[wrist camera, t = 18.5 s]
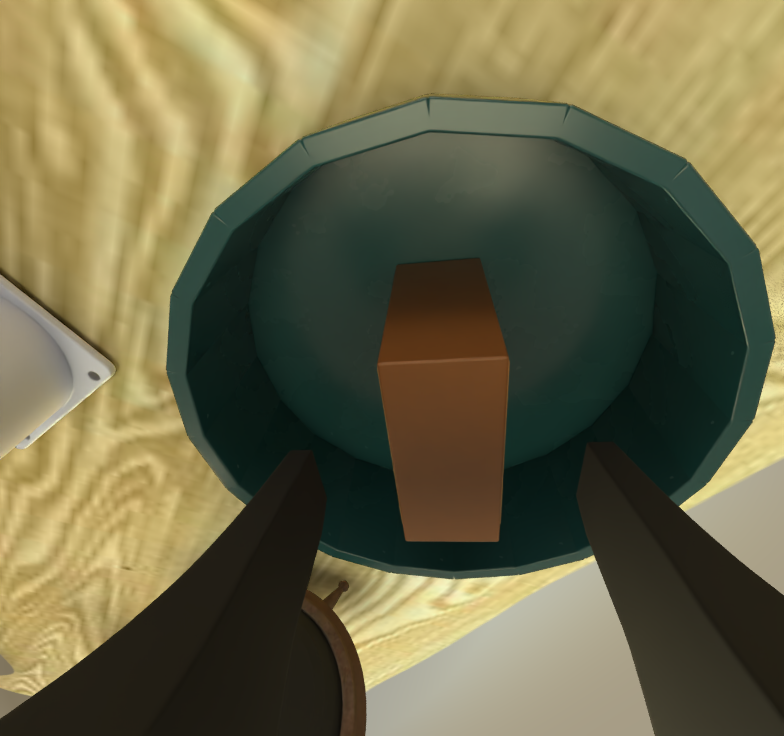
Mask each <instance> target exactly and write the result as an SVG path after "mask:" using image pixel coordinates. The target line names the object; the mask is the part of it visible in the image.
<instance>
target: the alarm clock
mask: <svg viewBox="0 0 784 736" xmlns="http://www.w3.org/2000/svg"><path fill="white" fill-rule="evenodd" d="M348 588H349V585H348V583H347V582H346V581H341V582H340V583H339V587H338V588H337V589H336V590H335V591H334V592H332V593H331V594H330V595H329V596H328V597H326V598H325V599H324V600H322V599H320V598H319V597H318V596H316V595H315V594H314V593H312V592H310V591H309V590H306V594H305V597H304V601H303V604H302V608H301V612H300V615H299V619H298V623H297V628H296V632H295V636H294V641H293V647H292V652H291V658H290V663H289V668H288V674H287V679H286V686H285V692H284V698H283V704H282V710H281V716H280V722H279V729H278V735H277V736H365V731H366V693H365V684H364V678H363V672H362V668H361V664H360V660H359V657H358V654H357V651H356V648H355V646H354V643H353V641H352V639H351V637H350V635H349V633H348V631H347V630H346V628H345V626H344V624H343V623H342V622H341V620H340V619H339V617H338V616H337V615H336V614H335V612H334V611H333V610H332V609H333V607H334V606H335V604H336V602H337V601H338V599H339V597H340V596H341V594H342V592H344V591H347V590H348Z"/></svg>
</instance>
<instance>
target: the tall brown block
mask: <svg viewBox="0 0 784 736" xmlns="http://www.w3.org/2000/svg"><path fill="white" fill-rule="evenodd" d="M509 364H510V362H509V356H508V353H507V349H506V346H505V342H504V339H503V335H502V332H501V328H500V325H499V322H498V318H497V315H496V311H495V308H494V304H493V301H492V297H491V294H490V290H489V287H488V284H487V280H486V277H485V273H484V270H483V266H482V263H481V260H480V258H473V259H461V260H449V261H437V262H425V263H413V264H401V265H397V266H396V270H395V275H394V280H393V285H392V290H391V296H390V301H389V306H388V311H387V316H386V321H385V326H384V331H383V337H382V342H381V347H380V352H379V357H378V362H377V371H378V377H379V383H380V390H381V396H382V402H383V408H384V414H385V420H386V427H387V433H388V439H389V445H390V451H391V458H392V464H393V470H394V476H395V482H396V489H397V495H398V501H399V507H400V513H401V519H402V524H403V530H404V536H405V540H406V541H449V542H498V541H499V533H500V524H501V508H502V490H503V472H504V454H505V436H506V418H507V400H508V382H509Z"/></svg>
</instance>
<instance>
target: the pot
mask: <svg viewBox="0 0 784 736" xmlns="http://www.w3.org/2000/svg"><path fill="white" fill-rule="evenodd" d="M473 258H480V260H481V263H482V266H483V270H484V273H485V277H486V280H487V284H488V287H489V290H490V294H491V297H492V301H493V304H494V308H495V311H496V315H497V318H498V322H499V325H500V328H501V332H502V335H503V339H504V342H505V346H506V349H507V353H508V356H509V362H510V364H509V382H508V400H507V418H506V436H505V454H504V472H503V490H502V508H501V524H500V533H499V541H498V542H449V541H406V540H405V536H404V530H403V524H402V519H401V513H400V507H399V501H398V495H397V489H396V482H395V476H394V470H393V464H392V458H391V451H390V445H389V439H388V433H387V427H386V420H385V414H384V408H383V402H382V396H381V390H380V383H379V377H378V371H377V362H378V357H379V352H380V347H381V342H382V337H383V331H384V326H385V321H386V316H387V311H388V306H389V301H390V296H391V290H392V285H393V280H394V275H395V270H396V266H397V265H401V264H413V263H425V262H437V261H449V260H461V259H473ZM775 338H776V337H775V332H774V327H773V321H772V316H771V311H770V306H769V301H768V295H767V290H766V285H765V280H764V274H763V269H762V264H761V259H760V253H759V249H758V248H757V247H756V244H755V243H754V242H753V240H752V239H751V238H750V237H749V235H748V234H747V233H746V232H745V230H744V229H743V228H742V227H741V225H740V224H739V223H738V222H737V220H736V219H735V218H734V217H733V215H732V214H731V213H730V212H729V210H728V209H727V208H726V207H725V205H724V204H723V203H722V202H721V200H720V199H719V198H718V197H717V195H716V194H715V193H714V192H713V190H712V189H711V188H710V187H709V185H708V184H707V183H706V182H705V180H704V179H703V178H702V177H701V175H700V174H699V173H698V172H697V170H696V169H695V168H694V167H693V165H692V164H691V163H690V162H687V160H686V159H685V158H683V157H681V156H679V155H677V154H675V153H673V152H670V151H668V150H666V149H664V148H662V147H660V146H658V145H656V144H654V143H652V142H650V141H647V140H645V139H643V138H641V137H639V136H637V135H635V134H633V133H631V132H629V131H627V130H625V129H622V128H620V127H618V126H616V125H614V124H612V123H610V122H608V121H606V120H604V119H602V118H600V117H597V116H595V115H593V114H591V113H589V112H587V111H585V110H583V109H581V108H579V107H577V106H574V105H570V104H567V103H561V102H551V101H542V100H533V99H524V98H509V97H490V96H471V95H452V94H434V93H431V94H430V95H429V94H425V95H422V96H419V97H416V98H413V99H410V100H407V101H404V102H401V103H398V104H395V105H392V106H389V107H386V108H383V109H380V110H377V111H374V112H371V113H367V114H364V115H361V116H358V117H355V118H352V119H349V120H346V121H343V122H341V123H338V124H335V125H333V126H330V127H327V128H325V129H322V130H319V131H317V132H314V133H311V134H309V135H306V136H303V137H302V138H301V139H298V140H297V141H295V142H294V143H293V144H292V145H291V146H290V147H288V148H287V149H286V150H285V151H284V152H282V153H281V154H280V155H279V156H278V157H276V158H275V159H274V160H273V161H272V162H270V163H269V164H268V165H267V166H266V167H264V168H263V169H262V170H261V171H260V172H258V173H257V174H256V175H255V176H254V177H252V178H251V179H250V180H249V181H248V182H246V183H245V184H244V185H243V186H242V187H240V188H239V189H238V190H237V191H236V192H234V193H233V194H232V195H231V196H230V197H228V198H227V199H226V200H225V201H224V202H222V203H221V204H220V205H219V206H218V207H216V208H215V210H214V212H212V213H211V215H210V217H209V219H208V221H207V223H206V225H205V227H204V229H203V231H202V233H201V235H200V237H199V239H198V241H197V243H196V245H195V247H194V249H193V251H192V253H191V255H190V257H189V259H188V261H187V263H186V264H185V266H184V268H183V270H182V272H181V274H180V276H179V278H178V280H177V282H176V284H175V286H174V288H173V290H172V294H171V296H170V314H169V331H168V348H167V365H166V370H167V375H168V378H169V381H170V384H171V387H172V390H173V393H174V396H175V399H176V403H177V406H178V409H179V412H180V415H181V418H182V421H183V424H184V427H185V430H186V433H187V436H189V439H190V440H191V442H192V443H193V444H194V446H195V447H196V448H197V450H198V451H199V453H200V454H201V455H202V457H203V458H204V459H205V461H206V462H207V463H208V465H209V466H210V467H211V469H212V470H213V472H214V473H215V474H216V476H217V477H218V478H219V480H220V481H221V482H222V484H223V485H224V486H225V488H227V490H228V491H229V492H231V493H232V494H233V495H234V496H236V497H237V498H238V499H239V500H241V501H242V502H243V503H244V504H246V505H247V504H248V503H249V502H250V500H251V499H252V498H253V497H254V496H255V494H256V493H257V492H258V491H259V489H260V488H261V487H262V486H263V484H264V483H265V482H266V481H267V479H268V478H269V477H270V476H271V474H272V473H273V472H274V471H275V469H276V468H277V467H278V465H279V464H280V463H281V462H282V460H283V459H284V458H285V457H286V455H287V454H288V453H289V452H290V451H291V450H312V451H313V455H314V458H315V461H316V464H317V467H318V471H319V474H320V477H321V480H322V484H323V487H324V490H325V493H326V497H327V502H326V509H325V517H324V523H323V529H322V535H321V539H320V543H319V546H318V550H320V551H322V552H324V553H326V554H328V555H330V556H332V557H335V558H339V559H342V560H346V561H350V562H353V563H357V564H360V565H364V566H367V567H371V568H374V569H378V570H382V571H385V572H389V573H391V572H392V573H396V574H406V575H416V576H425V577H435V578H445V579H468V578H483V577H497V576H512V575H518V574H519V575H522V574H526V573H531V572H535V571H539V570H543V569H547V568H551V567H555V566H559V565H563V564H567V563H571V562H575V561H579V560H583V559H584V558H588V557H590V556H592V555H594V553H593V551H592V548H591V546H590V543H589V540H588V538H587V535H586V532H585V528H584V524H583V521H582V517H581V513H580V509H579V505H578V501H577V497H576V493H577V489H578V484H579V479H580V474H581V470H582V465H583V460H584V455H585V450H586V446H587V442H614V443H615V444H616V445H617V446H618V447H619V448H620V449H621V450H622V451H623V452H624V453H625V454H626V455H627V456H628V457H629V458H630V459H631V460H632V461H633V462H634V463H635V464H636V465H637V466H638V467H639V468H640V469H641V470H642V471H643V472H644V473H645V474H646V475H647V476H648V477H649V478H650V479H651V480H652V481H653V482H654V483H655V484H656V485H657V486H658V487H659V488H660V489H661V490H662V491H663V492H664V493H665V494H666V495H667V496H668V497H669V498H670V499H671V500H672V501H673V502H674V503H675V504H676V505H678V506H680V505H681V504H682V503H683V502H685V501H686V500H687V499H689V498H690V497H691V496H692V495H694V494H695V493H696V492H698V491H699V490H700V489H701V488H703V487H704V486H705V485H706V484H707V483H708V482H709V481H710V480H711V478H712V477H713V476H714V474H715V473H716V472H717V470H718V469H719V467H720V466H721V465H722V463H723V462H724V461H725V459H726V458H727V456H728V455H729V454H730V452H731V451H732V450H733V448H734V447H735V445H736V444H737V443H738V441H739V440H740V439H741V437H742V436H743V434H744V433H745V432H746V430H747V429H748V428H749V426H750V425H751V423H752V421H753V419H754V418H755V414H756V411H757V407H758V403H759V399H760V396H761V392H762V388H763V385H764V381H765V377H766V373H767V370H768V366H769V362H770V359H771V355H772V351H773V348H774V344H775Z"/></svg>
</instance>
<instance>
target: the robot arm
mask: <svg viewBox="0 0 784 736" xmlns="http://www.w3.org/2000/svg"><path fill="white" fill-rule="evenodd" d="M115 372H116V369H115V367H114V365H113V364H112V363H111V362H110V361H109V360H108V359H107V358H105V357H104V356H103V355H102V354H100V353H99V352H98V351H96V350H95V349H94V348H93V347H91V346H90V345H89V344H88V343H86V342H85V341H84V340H83V339H81V338H80V337H79V336H78V335H76V334H75V333H74V332H73V331H71V330H70V329H69V328H67V327H66V326H65V325H64V324H62V323H61V322H60V321H59V320H57V319H56V318H55V317H54V316H52V315H51V314H50V313H49V312H47V311H46V310H45V309H43V308H42V307H41V306H40V305H38V304H37V303H36V302H35V301H33V300H32V299H31V298H30V297H28V296H27V295H26V294H25V293H23V292H22V291H21V290H20V289H18V288H17V287H16V286H14V285H13V284H12V283H11V282H9V281H8V280H7V279H6V278H4V277H3V276H2V275H1V274H0V460H1V459H2V458H3V457H4V456H5V455H6V454H8V453H9V452H10V451H11V450H12V449H13V448H18V449H25V448H27V447H28V446H29V445H30V444H32V443H33V442H34V441H35V440H36V439H38V438H39V437H40V436H41V435H42V434H44V433H45V432H46V431H47V430H48V429H50V428H51V427H52V426H53V425H54V424H56V423H57V422H58V421H59V420H60V419H62V418H63V417H64V416H65V415H66V414H68V413H69V412H70V411H71V410H72V409H74V408H75V407H76V406H77V405H78V404H80V403H81V402H82V401H83V400H84V399H86V398H87V397H88V396H89V395H90V394H92V393H93V392H94V391H95V390H96V389H97V388H99V387H100V386H101V385H102V384H103V383H105V382H106V381H107V380H108V379H109V378H111V377H112V376H113V375H114V374H115ZM576 497H577V501H578V505H579V509H580V513H581V517H582V521H583V524H584V528H585V532H586V535H587V538H588V540H589V543H590V546H591V548H592V551H593V553H594V556H595V559H596V561H597V564H598V566H599V569H600V571H601V574H602V576H603V579H604V581H605V584H606V587H607V589H608V591H609V594H610V597H611V599H612V602H613V604H614V607H615V609H616V612H617V614H618V617H619V620H620V622H621V625H622V627H623V630H624V633H625V636H626V638H627V641H628V644H629V647H630V650H631V653H632V657H633V661H634V664H635V667H636V671H637V674H638V677H639V681H640V684H641V688H642V691H643V695H644V698H645V702H646V705H647V709H648V713H649V716H650V720H651V723H652V727H653V730H654V734H655V736H784V595H783V594H781V593H780V592H779V591H777V590H776V589H775V588H774V587H772V586H771V585H770V584H768V583H767V582H766V581H765V580H763V579H762V578H761V577H759V576H758V575H757V574H755V573H754V572H753V571H752V570H750V569H749V568H748V567H747V566H745V565H744V564H743V563H742V562H740V561H739V560H738V559H737V558H736V557H735V556H733V555H732V554H731V553H730V552H729V551H727V550H726V549H725V548H724V547H723V546H722V545H721V544H720V543H718V542H717V541H716V540H715V539H714V538H713V537H711V536H710V535H709V534H708V533H707V532H706V531H705V530H703V529H702V528H701V527H700V526H699V525H698V524H697V523H696V522H695V521H693V520H692V519H691V518H690V517H689V516H688V515H687V514H686V513H685V512H684V511H683V510H682V509H681V508H680V507H679V506H678V505H676V504H675V503H674V502H673V501H672V500H671V499H670V498H669V497H668V496H667V495H666V494H665V493H664V492H663V491H662V490H661V489H660V488H659V487H658V486H657V485H656V484H655V483H654V482H653V481H652V480H651V479H650V478H649V477H648V476H647V475H646V474H645V473H644V472H643V471H642V470H641V469H640V468H639V467H638V466H637V465H636V464H635V463H634V462H633V461H632V460H631V459H630V458H629V457H628V456H627V455H626V454H625V453H624V452H623V451H622V450H621V449H620V448H619V447H618V446H617V445H616V444H615V443H614V442H587V446H586V450H585V455H584V460H583V465H582V470H581V474H580V479H579V484H578V489H577V493H576ZM326 502H327V497H326V493H325V490H324V487H323V484H322V480H321V477H320V474H319V471H318V467H317V464H316V461H315V458H314V455H313V451H312V450H291V451H290V452H289V453H288V454H287V455H286V457H285V458H284V459H283V460H282V462H281V463H280V464H279V465H278V467H277V468H276V469H275V471H274V472H273V473H272V474H271V476H270V477H269V478H268V479H267V481H266V482H265V483H264V484H263V486H262V487H261V488H260V489H259V491H258V492H257V493H256V494H255V496H254V497H253V498H252V499H251V500H250V502H249V503H248V504H247V505H246V506H245V508H244V509H243V510H242V511H241V512H240V514H239V515H238V516H237V517H236V518H235V519H234V521H233V522H232V523H231V524H230V525H229V526H228V527H227V528H226V530H225V531H224V532H223V533H222V534H221V535H220V536H219V537H218V538H217V539H216V541H215V542H214V543H213V544H212V545H211V546H210V547H209V548H208V549H207V550H206V551H205V552H204V553H203V555H202V556H201V557H200V558H199V559H198V560H197V561H196V562H195V563H194V564H193V565H192V566H191V567H190V568H189V569H188V570H187V571H186V572H185V573H184V574H183V575H182V576H180V577H179V578H178V579H177V580H176V581H175V582H174V583H173V584H172V585H171V586H170V587H169V588H168V589H167V590H166V591H164V592H163V593H162V594H161V595H160V596H159V597H158V598H157V599H156V600H154V601H153V602H152V603H151V604H150V605H149V606H148V607H146V608H145V609H144V610H143V611H142V612H141V613H140V614H138V615H137V616H136V617H135V618H134V619H133V620H132V621H130V622H129V623H128V624H127V625H126V626H124V627H123V628H122V629H121V630H120V631H118V632H117V633H116V634H115V635H113V636H112V637H111V638H110V639H108V640H107V641H106V642H105V643H103V644H102V645H101V646H100V647H98V648H97V649H96V650H94V651H93V652H92V653H91V654H89V655H88V656H87V657H85V658H84V659H83V660H81V661H80V662H79V663H78V664H76V665H75V666H74V667H72V668H71V669H70V670H68V671H67V672H66V673H64V674H63V675H62V676H60V677H59V678H57V679H56V680H55V681H53V682H52V683H50V684H49V685H48V686H46V687H45V688H43V689H42V690H40V691H39V692H38V693H36V694H35V695H33V696H32V697H31V698H30V699H28V700H26V701H25V702H24V703H22V704H21V705H19V706H18V707H16V708H15V709H14V710H12V711H11V712H10V713H8V714H7V715H5V716H3V717H2V718H1V719H0V736H277V735H278V729H279V722H280V716H281V710H282V704H283V698H284V692H285V686H286V679H287V674H288V668H289V663H290V658H291V652H292V647H293V641H294V636H295V632H296V628H297V623H298V619H299V615H300V612H301V608H302V604H303V601H304V597H305V594H306V590H307V586H308V583H309V579H310V576H311V572H312V568H313V565H314V561H315V557H316V554H317V550H318V546H319V543H320V539H321V535H322V529H323V523H324V517H325V509H326Z"/></svg>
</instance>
